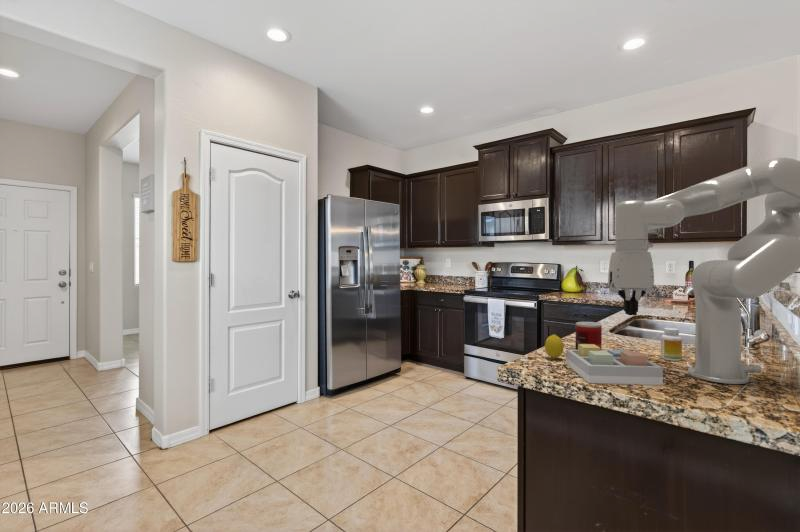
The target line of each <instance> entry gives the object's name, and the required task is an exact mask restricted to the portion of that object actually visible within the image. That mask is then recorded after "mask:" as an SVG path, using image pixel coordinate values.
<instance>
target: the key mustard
mask: <svg viewBox="0 0 800 532" xmlns="http://www.w3.org/2000/svg"><path fill="white" fill-rule="evenodd" d="M589 351H600V347H598V346H596V345H594V344H578V354H579V355H580V356H581V357H589Z"/></svg>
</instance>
